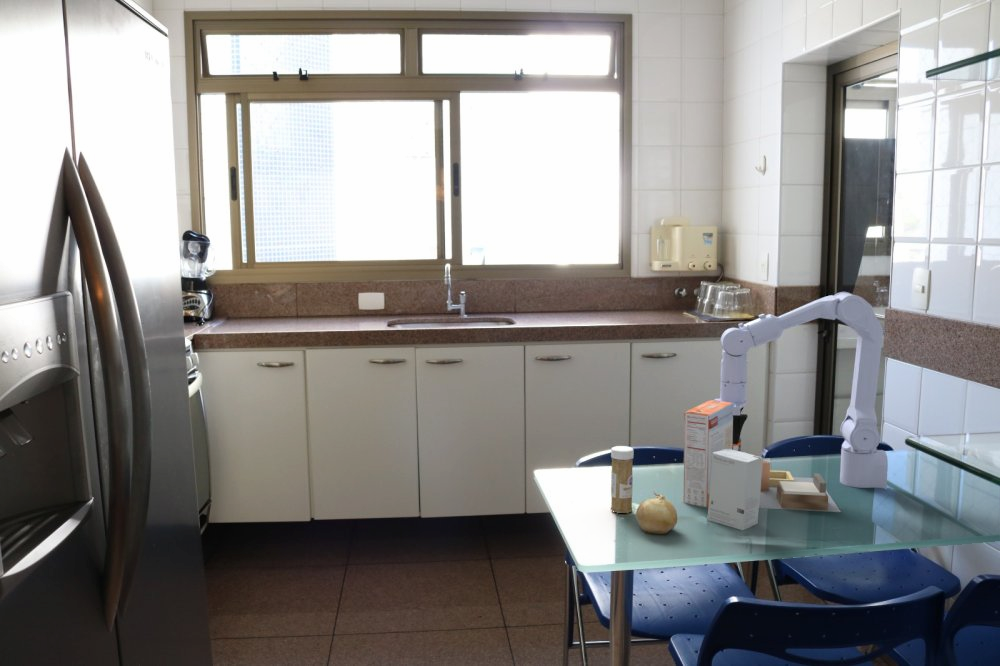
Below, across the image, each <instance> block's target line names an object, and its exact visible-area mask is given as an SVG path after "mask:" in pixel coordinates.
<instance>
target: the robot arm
mask: <svg viewBox="0 0 1000 666" xmlns="http://www.w3.org/2000/svg"><path fill="white" fill-rule="evenodd" d="M816 319H826V320H832V321H835V320H836V319H837V320H838V321H840V322H842V323H844V324H845V325H847V326H848V327H849V328H850V330H852V331H853V333H854V334H855V335H856V337H857V340H856V347H855V348H856V350H855V358H854V365H853V366H854V368H853V375H852V384H851V385H852V386H851V394H850V395H851V396H850V404H849V406H848V408H847V410H846V415H845V418H844V420H843V421H842V422H841V425H840V435H841V437H842V438H843V439H844V441H843V442H842V444H841V449H840V453H841V454H840V467H839V468H840V471H839V472H840V473H839V483H841V484H842V485H845V486H848V487H852V488H859V489H860V488H861V489H862V488H863V489H865V488H875V489H878V488H879V489H884V490H887V488H888V487H887V486H888V484H887V483H888V471H889V470H888V466H889V462H888V455H887V453H886V451H885V450H883V449H878V448H877V447H878V446H879V444H880V441H881V440H880V439H881V437H880V432H879V431H878V427H877V426H878V417H877V413H876V409H875V407H876V399H877V391H878V384H879V383H878V381H879V372H880V364H881V356H882V348H883V347H882V346H883V340H884V339H883V337H884V328H883V327H882V324H881V322H880V321H879V319H878V317H877V314H876V313H875V311H874V309H873V305H872V304H871V303H869V302H868V301H867V300H866V299H864V298H863V297H862V296H860V295H855V294H852V293H850V292H849V291H848V292H847V291H840V292H837V293H836V294H834V295H833V294H831V295H828V296H824V297H821V298H818V299H816V300H813V301H811V302H808V303H806V304H804V305H802V306H799V307H798V308H795V309H792V310H790V311H789V312H785V313H784V314H781V315H779V316H776V315H774V314H771V313H768V314H765V313H761V314H758V318H756V319H753V320H751V321H749V322H746V323H744V322H740V323H738V327H730V328H727V329H726V330H724V332H723V333H722V334H721V337H720V339H719V343H720V346H721V348H722V352H721V358H722V359H721V360H720V385H719V387H720V389H719V398H714V400H716V401H722V402H730V403H733V439H732V444H738V442H739V438H740V439H741V434H742V429H743V427H744V424H745V423H746V420H747V419H748V416H749V415H748V414H744V413H742V412H743V409H744V407H745V406H747V404H748V403H747V383H748V382H747V380H748V377H747V376H748V374H747V373H748V360H747V354H748V351H749V349H750V348H752V349H754V348H756V347H759V346H762V345H764V344H767V343H769V342H773V341H774V340H778V339H780V338H781V336H782V334H783V332H784V330H788V329H790V328H793V327H796V326H798V325H799V326H800V325H802V324H805V323H808V322H810V321H813V320H816Z"/></svg>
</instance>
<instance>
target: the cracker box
mask: <svg viewBox="0 0 1000 666" xmlns="http://www.w3.org/2000/svg"><path fill="white" fill-rule="evenodd" d="M683 414H684V416H683V417H684V421H683V422H684V423H683V426H684V427H683V430H684V432H683V433H684V434H683V435H684V436H683V437H684V438H683V440H684V441H683V498H682V499H683V504H687V505H693V506H698V507H703V508H707V509H708V506H709V493H710V481H711V469H712V457H713V453H714V452H717V451H721V450H724V449H731V450H732V439H733V403H730V402H722V401H716V400H715V399H714V400H712V399H710V400H707V401H704V402H703V403H701V404H699V405H697V406H695V407H693V408H690V409H688V410H686V411H684V413H683Z"/></svg>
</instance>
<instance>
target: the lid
mask: <svg viewBox="0 0 1000 666" xmlns="http://www.w3.org/2000/svg"><path fill="white" fill-rule="evenodd" d="M812 474H813V475H812V478H813V482H791V481H780V482H779V484H780V486H781V488H782V490H783V491H784V493H785V494H800V495H821V496H826V491H827V482H826V481H825V479H824V478H823V477H822V475H821V473H814V472H813V473H812Z"/></svg>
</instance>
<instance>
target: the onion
mask: <svg viewBox="0 0 1000 666" xmlns="http://www.w3.org/2000/svg"><path fill="white" fill-rule="evenodd" d="M653 494H654V495H655V497H653V498H652V497H651V498H648V499H645V500H644V501H642V502H641V503H640V504H639V505H638V507H637V508H636V512H635V516H636V520H637V523H638V524H639V526H640V528H641V529H642V531H643V532H644V533H647V534H651V533H652V534H653V535H663V534H664V535H665V534H668V533H669V532H670V531H672V530H673V529H674V528H675V527H676V525H677V524H678V517H679V516H678V512H677V510H676V508H675V506H674V505H673V504H672V502H671V501H669V500H668V499H667V498H666V497H665V496H664V494H661V493H659V494H657V493H656V492H655V491H653Z"/></svg>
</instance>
